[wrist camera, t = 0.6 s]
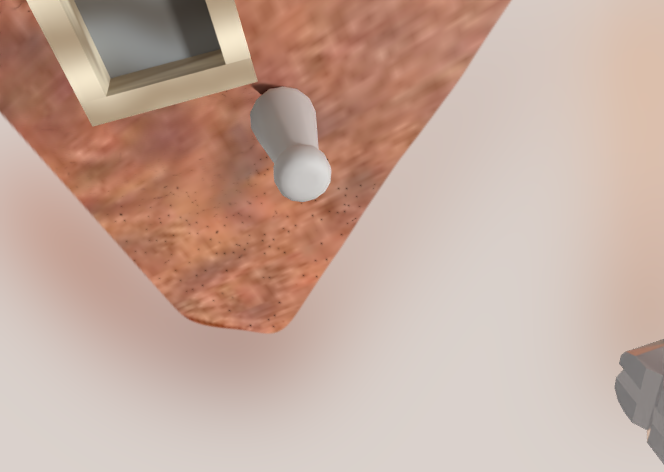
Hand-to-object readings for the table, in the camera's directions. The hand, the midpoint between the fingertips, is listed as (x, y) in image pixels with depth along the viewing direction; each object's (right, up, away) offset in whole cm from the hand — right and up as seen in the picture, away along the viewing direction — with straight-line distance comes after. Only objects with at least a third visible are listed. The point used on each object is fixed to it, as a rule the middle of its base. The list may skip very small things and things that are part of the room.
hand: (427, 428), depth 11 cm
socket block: (-16, +22, +32) cm, 42 cm away
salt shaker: (-7, +16, +40) cm, 43 cm away
